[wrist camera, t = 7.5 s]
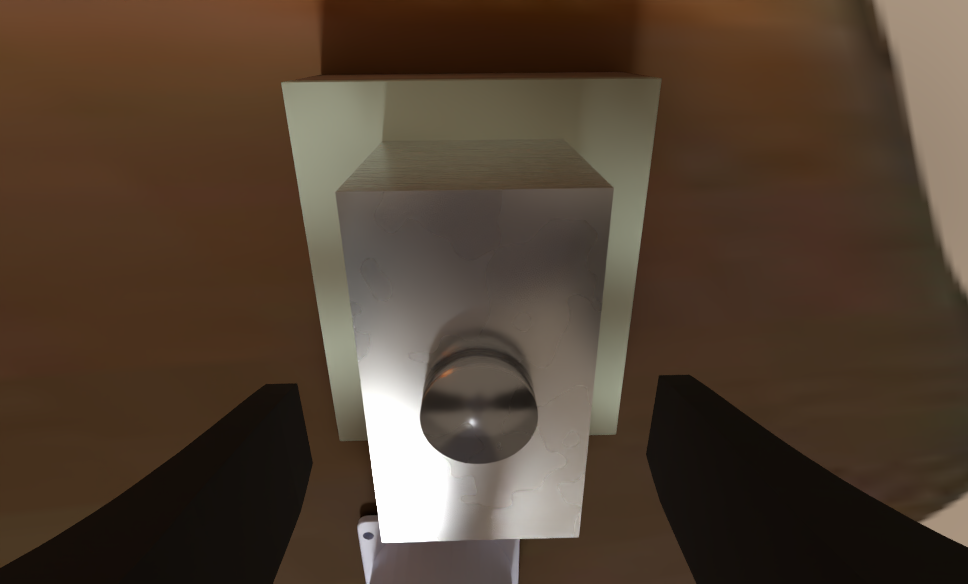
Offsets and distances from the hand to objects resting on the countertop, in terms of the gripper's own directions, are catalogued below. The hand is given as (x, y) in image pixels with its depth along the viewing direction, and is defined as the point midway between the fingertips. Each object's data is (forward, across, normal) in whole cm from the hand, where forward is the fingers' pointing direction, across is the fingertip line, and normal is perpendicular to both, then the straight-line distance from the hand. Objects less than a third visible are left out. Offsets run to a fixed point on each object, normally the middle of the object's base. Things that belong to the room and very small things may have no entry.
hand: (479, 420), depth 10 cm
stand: (+10, 0, 0) cm, 10 cm away
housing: (+6, 0, 0) cm, 6 cm away
